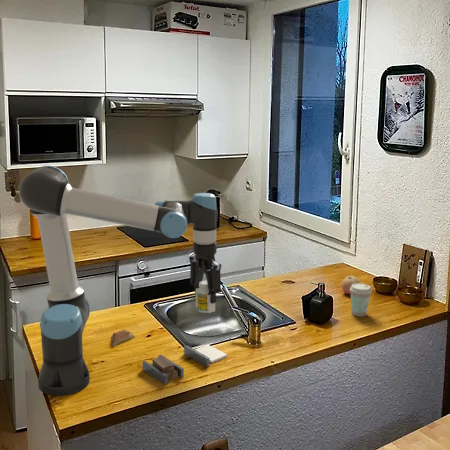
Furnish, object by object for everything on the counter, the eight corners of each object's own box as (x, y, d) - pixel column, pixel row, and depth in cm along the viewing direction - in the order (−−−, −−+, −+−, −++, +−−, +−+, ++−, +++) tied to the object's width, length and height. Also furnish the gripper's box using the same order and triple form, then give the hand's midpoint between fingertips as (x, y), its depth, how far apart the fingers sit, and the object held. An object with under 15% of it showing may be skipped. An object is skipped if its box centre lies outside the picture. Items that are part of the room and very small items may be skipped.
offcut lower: (167, 382, 170) (167, 374, 170) (151, 370, 177) (151, 363, 176) (177, 377, 173) (177, 370, 172) (161, 367, 180) (161, 360, 179)
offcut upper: (163, 373, 170) (162, 368, 170) (152, 364, 176) (152, 359, 175) (174, 370, 173) (174, 364, 172) (163, 361, 178) (163, 355, 178)
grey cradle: (164, 384, 168) (164, 375, 167) (142, 370, 177) (142, 361, 176) (209, 366, 180) (209, 357, 179) (186, 353, 189) (186, 345, 188)
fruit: (337, 292, 249) (338, 275, 247) (351, 289, 253) (352, 273, 251) (349, 297, 243) (350, 280, 241) (362, 295, 246) (364, 278, 244)
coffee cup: (361, 319, 219) (363, 291, 216) (343, 313, 226) (346, 285, 223) (373, 314, 225) (376, 287, 222) (356, 308, 231) (358, 281, 228)
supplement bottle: (214, 307, 184) (214, 280, 181) (211, 313, 179) (211, 285, 176) (199, 306, 185) (198, 279, 182) (195, 312, 180) (195, 284, 177)
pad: (211, 363, 182) (211, 360, 182) (192, 352, 189) (192, 350, 189) (227, 356, 187) (227, 354, 187) (207, 346, 194) (207, 344, 194)
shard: (112, 348, 192) (111, 344, 191) (98, 342, 196) (98, 337, 196) (135, 338, 200) (135, 334, 199) (122, 332, 205) (122, 328, 204)
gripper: (232, 245, 172) (232, 314, 177) (196, 234, 185) (196, 298, 191) (214, 249, 167) (214, 320, 173) (178, 237, 180) (179, 304, 186)
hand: (205, 308), depth 182 cm, fingers closed on supplement bottle, 5 cm apart
